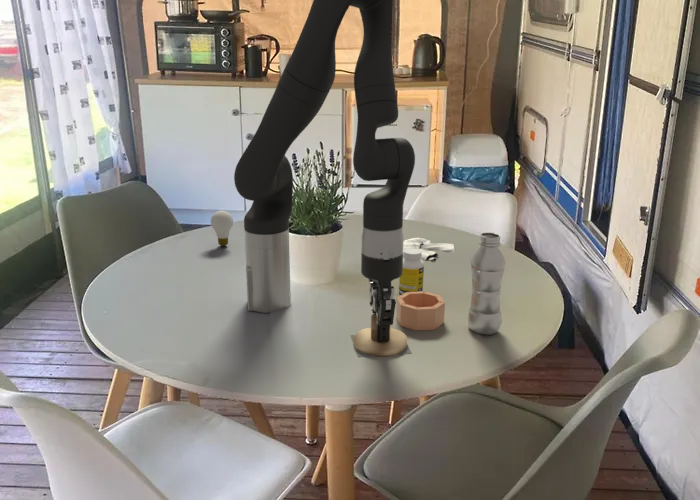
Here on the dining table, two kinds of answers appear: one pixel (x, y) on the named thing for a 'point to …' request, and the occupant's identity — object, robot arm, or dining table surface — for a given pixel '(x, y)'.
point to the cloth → (427, 247)
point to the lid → (370, 346)
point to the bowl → (420, 310)
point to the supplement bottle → (411, 272)
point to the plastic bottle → (486, 285)
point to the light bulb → (222, 226)
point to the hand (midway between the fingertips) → (380, 336)
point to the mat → (360, 354)
